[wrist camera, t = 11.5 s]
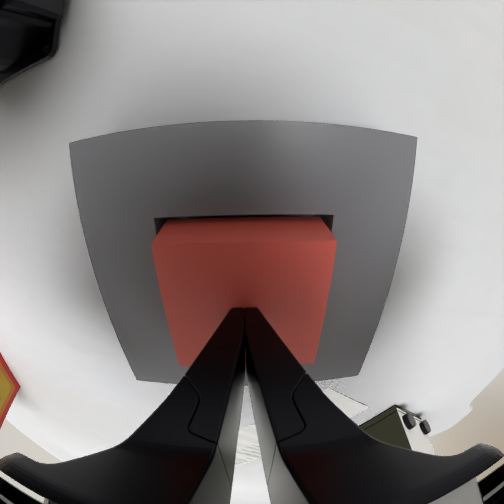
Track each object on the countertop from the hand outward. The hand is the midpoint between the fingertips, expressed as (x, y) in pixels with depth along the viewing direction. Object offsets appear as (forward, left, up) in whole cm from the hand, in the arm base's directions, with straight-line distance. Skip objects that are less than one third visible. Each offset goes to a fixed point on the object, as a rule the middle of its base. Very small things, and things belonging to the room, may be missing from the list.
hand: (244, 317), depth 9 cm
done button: (0, 0, -2) cm, 2 cm away
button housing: (0, 0, -4) cm, 4 cm away
